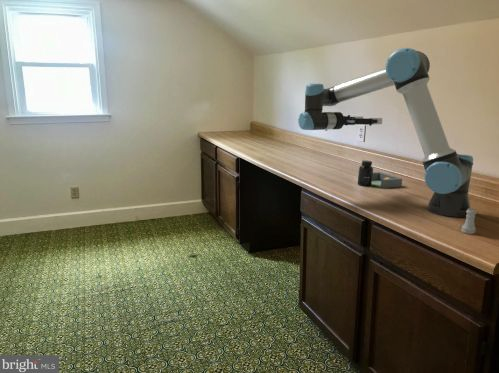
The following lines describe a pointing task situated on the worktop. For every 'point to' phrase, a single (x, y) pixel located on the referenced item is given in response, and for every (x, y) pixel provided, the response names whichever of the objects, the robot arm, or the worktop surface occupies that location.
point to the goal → (385, 180)
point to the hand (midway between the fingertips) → (371, 120)
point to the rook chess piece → (469, 222)
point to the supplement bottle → (365, 173)
